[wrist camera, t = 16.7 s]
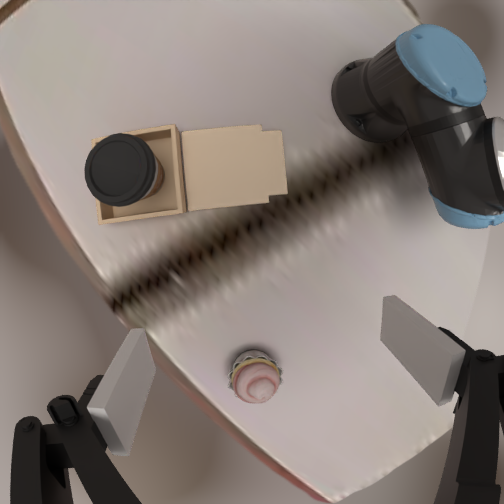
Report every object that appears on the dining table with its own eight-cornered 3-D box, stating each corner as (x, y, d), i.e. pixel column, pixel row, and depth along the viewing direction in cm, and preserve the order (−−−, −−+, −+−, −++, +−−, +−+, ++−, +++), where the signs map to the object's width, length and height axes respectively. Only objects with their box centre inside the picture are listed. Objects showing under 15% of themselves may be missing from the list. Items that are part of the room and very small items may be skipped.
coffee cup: (162, 210, 45) (138, 216, 31) (113, 196, 44) (71, 196, 29) (179, 157, 44) (162, 139, 29) (129, 144, 43) (94, 123, 28)
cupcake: (220, 382, 52) (222, 417, 42) (231, 337, 51) (236, 368, 41) (270, 389, 53) (281, 422, 44) (284, 346, 52) (298, 376, 42)
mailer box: (279, 124, 45) (288, 115, 40) (287, 200, 48) (297, 201, 42) (105, 145, 43) (91, 139, 37) (111, 221, 45) (98, 225, 39)
